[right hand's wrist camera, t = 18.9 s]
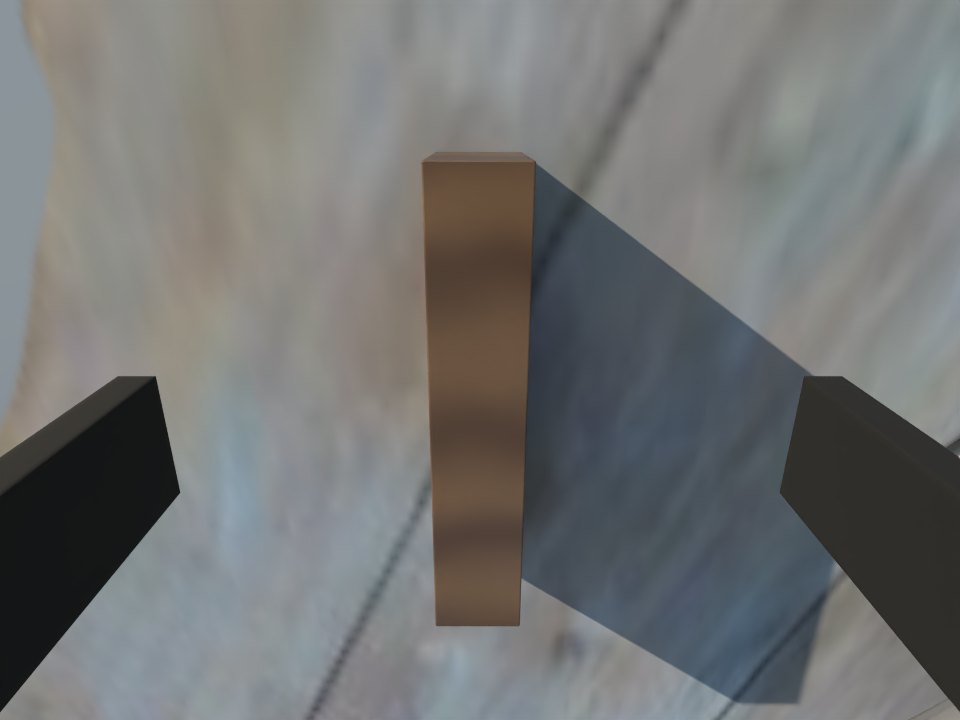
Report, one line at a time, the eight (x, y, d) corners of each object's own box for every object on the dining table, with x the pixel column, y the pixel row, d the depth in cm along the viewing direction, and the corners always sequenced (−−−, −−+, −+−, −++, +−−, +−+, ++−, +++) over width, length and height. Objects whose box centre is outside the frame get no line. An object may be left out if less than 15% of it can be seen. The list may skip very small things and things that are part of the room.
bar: (434, 152, 36) (421, 160, 28) (522, 152, 36) (536, 160, 28) (443, 534, 46) (435, 626, 38) (512, 534, 46) (519, 626, 38)
